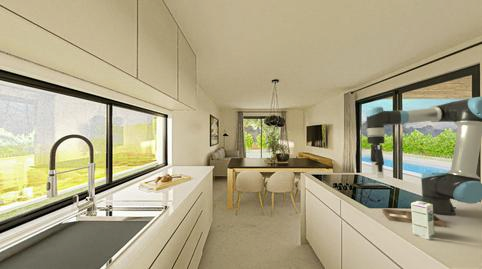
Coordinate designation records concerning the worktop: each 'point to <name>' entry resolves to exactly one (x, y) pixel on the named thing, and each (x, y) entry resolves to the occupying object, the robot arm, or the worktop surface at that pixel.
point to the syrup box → (423, 219)
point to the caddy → (407, 217)
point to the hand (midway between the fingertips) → (377, 175)
